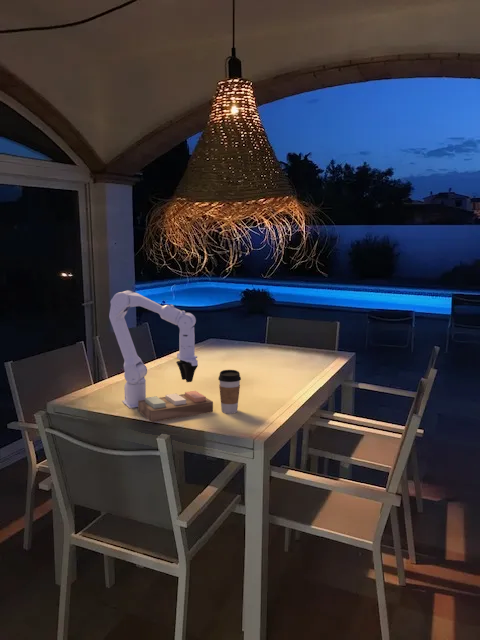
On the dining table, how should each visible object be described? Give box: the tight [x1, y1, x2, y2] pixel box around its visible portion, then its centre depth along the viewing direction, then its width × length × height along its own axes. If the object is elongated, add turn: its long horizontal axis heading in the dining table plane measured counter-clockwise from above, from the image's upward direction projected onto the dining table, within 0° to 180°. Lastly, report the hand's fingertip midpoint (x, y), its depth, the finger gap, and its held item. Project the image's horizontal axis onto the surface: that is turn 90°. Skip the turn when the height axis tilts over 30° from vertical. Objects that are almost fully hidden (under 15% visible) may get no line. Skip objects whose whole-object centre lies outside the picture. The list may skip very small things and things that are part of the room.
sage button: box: [145, 396, 166, 409], centre depth 195 cm, size 9×4×4 cm, turn 30°
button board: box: [137, 393, 214, 423], centre depth 199 cm, size 14×24×4 cm, turn 120°
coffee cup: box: [218, 369, 242, 415], centre depth 199 cm, size 8×8×15 cm
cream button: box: [164, 393, 186, 406], centre depth 199 cm, size 9×4×4 cm, turn 30°
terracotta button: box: [184, 390, 207, 402], centre depth 203 cm, size 9×4×4 cm, turn 30°
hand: (187, 380), depth 203 cm, fingers open, 3 cm apart
